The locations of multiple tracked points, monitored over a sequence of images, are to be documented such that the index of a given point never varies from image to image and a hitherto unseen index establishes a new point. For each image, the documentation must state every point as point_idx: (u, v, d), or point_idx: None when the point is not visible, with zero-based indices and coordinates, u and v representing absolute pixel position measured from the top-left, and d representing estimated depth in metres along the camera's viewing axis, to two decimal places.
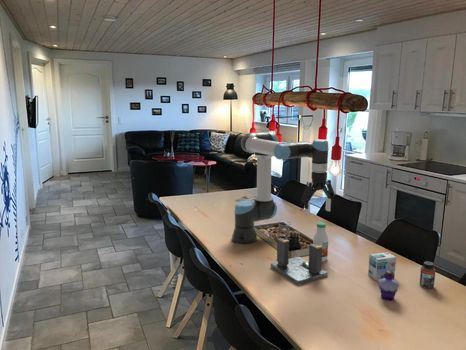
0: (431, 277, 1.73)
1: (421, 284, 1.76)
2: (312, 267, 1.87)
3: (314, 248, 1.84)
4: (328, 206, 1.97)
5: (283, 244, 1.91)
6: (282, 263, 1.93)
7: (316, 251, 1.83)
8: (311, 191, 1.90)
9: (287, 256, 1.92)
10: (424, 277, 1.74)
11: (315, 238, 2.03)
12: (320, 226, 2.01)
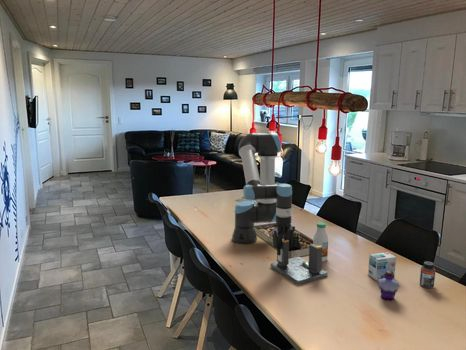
0: (431, 277, 1.73)
1: (421, 284, 1.76)
2: (312, 267, 1.87)
3: (314, 248, 1.84)
4: None
5: (283, 244, 1.91)
6: (282, 263, 1.93)
7: (316, 251, 1.83)
8: (279, 237, 1.91)
9: (287, 256, 1.92)
10: (424, 277, 1.74)
11: (315, 238, 2.03)
12: (320, 226, 2.01)
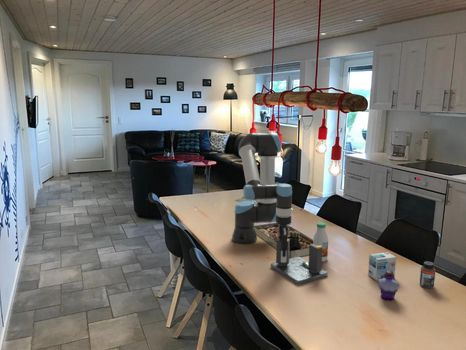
0: (431, 277, 1.73)
1: (421, 284, 1.76)
2: (312, 267, 1.87)
3: (314, 248, 1.84)
4: None
5: None
6: (285, 263, 1.93)
7: (316, 251, 1.83)
8: None
9: (288, 255, 1.94)
10: (424, 277, 1.74)
11: (315, 238, 2.03)
12: (320, 226, 2.01)
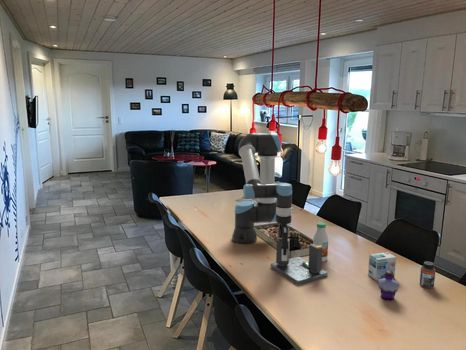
0: (431, 277, 1.73)
1: (421, 284, 1.76)
2: (312, 267, 1.87)
3: (314, 248, 1.84)
4: None
5: None
6: (285, 263, 1.94)
7: (316, 251, 1.83)
8: None
9: (288, 255, 1.94)
10: (424, 277, 1.74)
11: (315, 238, 2.03)
12: (320, 226, 2.01)
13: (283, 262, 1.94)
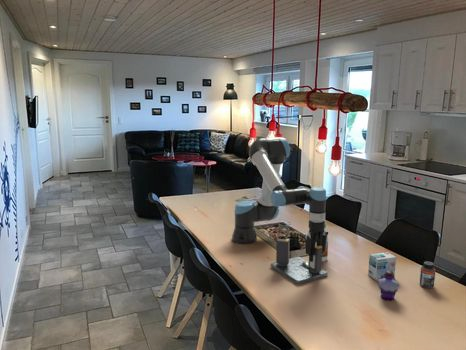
0: (431, 277, 1.73)
1: (421, 284, 1.76)
2: None
3: None
4: None
5: (286, 244, 1.91)
6: (285, 263, 1.94)
7: (316, 251, 1.83)
8: (312, 243, 1.84)
9: (288, 255, 1.94)
10: (424, 277, 1.74)
11: None
12: None
13: (283, 262, 1.94)
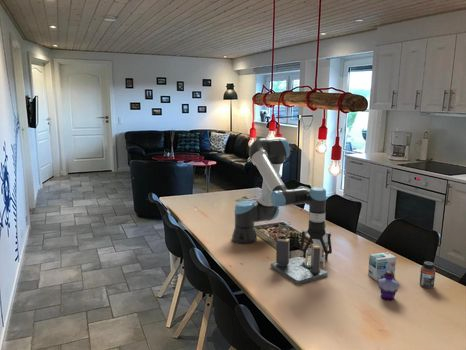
0: (431, 277, 1.73)
1: (421, 284, 1.76)
2: (312, 266, 1.88)
3: (313, 247, 1.85)
4: (323, 261, 1.86)
5: (286, 244, 1.91)
6: (285, 263, 1.94)
7: (313, 251, 1.84)
8: (308, 240, 1.86)
9: (288, 255, 1.94)
10: (424, 277, 1.74)
11: None
12: None
13: (283, 262, 1.94)
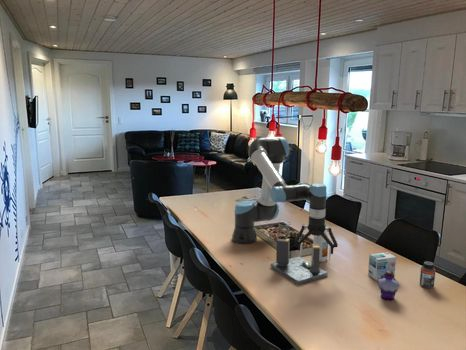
0: (431, 277, 1.73)
1: (421, 284, 1.76)
2: (312, 266, 1.88)
3: (313, 247, 1.85)
4: None
5: (286, 244, 1.91)
6: (285, 263, 1.94)
7: (313, 251, 1.84)
8: (306, 234, 1.86)
9: (288, 255, 1.94)
10: (424, 277, 1.74)
11: (315, 238, 2.03)
12: None
13: (283, 262, 1.94)
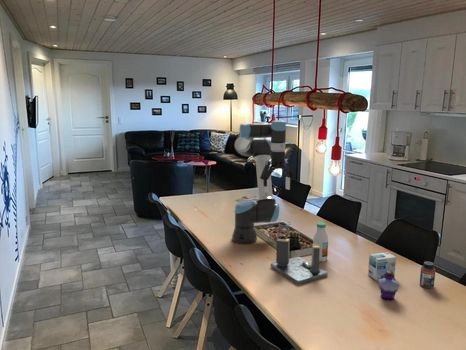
0: (431, 277, 1.73)
1: (421, 284, 1.76)
2: None
3: (313, 247, 1.85)
4: (287, 184, 2.06)
5: (286, 244, 1.91)
6: (285, 263, 1.94)
7: (313, 251, 1.84)
8: (270, 169, 1.99)
9: (288, 255, 1.94)
10: (424, 277, 1.74)
11: (315, 238, 2.03)
12: (320, 226, 2.01)
13: (283, 262, 1.94)
